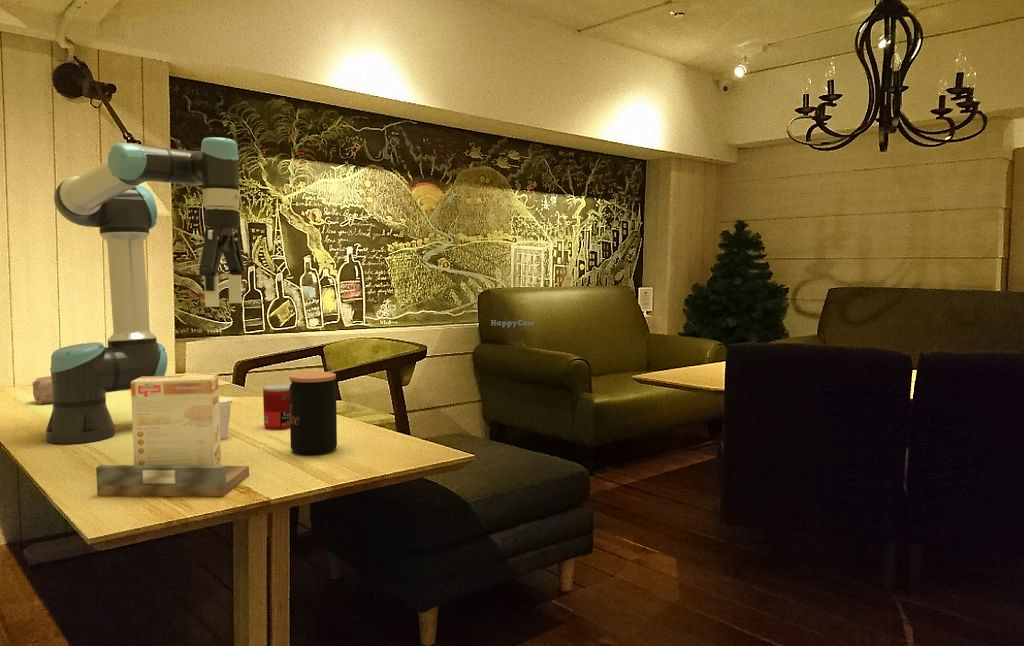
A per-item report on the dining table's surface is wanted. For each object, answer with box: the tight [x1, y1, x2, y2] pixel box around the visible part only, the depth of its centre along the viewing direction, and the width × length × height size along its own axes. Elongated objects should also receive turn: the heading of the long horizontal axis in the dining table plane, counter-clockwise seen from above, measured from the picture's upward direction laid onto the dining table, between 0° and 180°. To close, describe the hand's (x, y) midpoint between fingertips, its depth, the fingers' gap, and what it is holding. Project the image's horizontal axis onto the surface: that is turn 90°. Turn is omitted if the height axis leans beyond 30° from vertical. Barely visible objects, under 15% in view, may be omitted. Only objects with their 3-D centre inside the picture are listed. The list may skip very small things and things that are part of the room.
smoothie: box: [219, 397, 233, 441], centre depth 189 cm, size 6×6×14 cm
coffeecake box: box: [130, 374, 222, 466], centre depth 151 cm, size 15×7×20 cm, turn 100°
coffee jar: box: [289, 371, 338, 456], centre depth 177 cm, size 11×11×18 cm
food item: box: [32, 375, 53, 406], centre depth 237 cm, size 14×8×10 cm, turn 127°
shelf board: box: [95, 464, 250, 497], centre depth 150 cm, size 24×14×6 cm, turn 90°
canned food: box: [262, 383, 291, 431], centre depth 202 cm, size 8×8×11 cm
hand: (224, 304), depth 169 cm, fingers open, 13 cm apart
